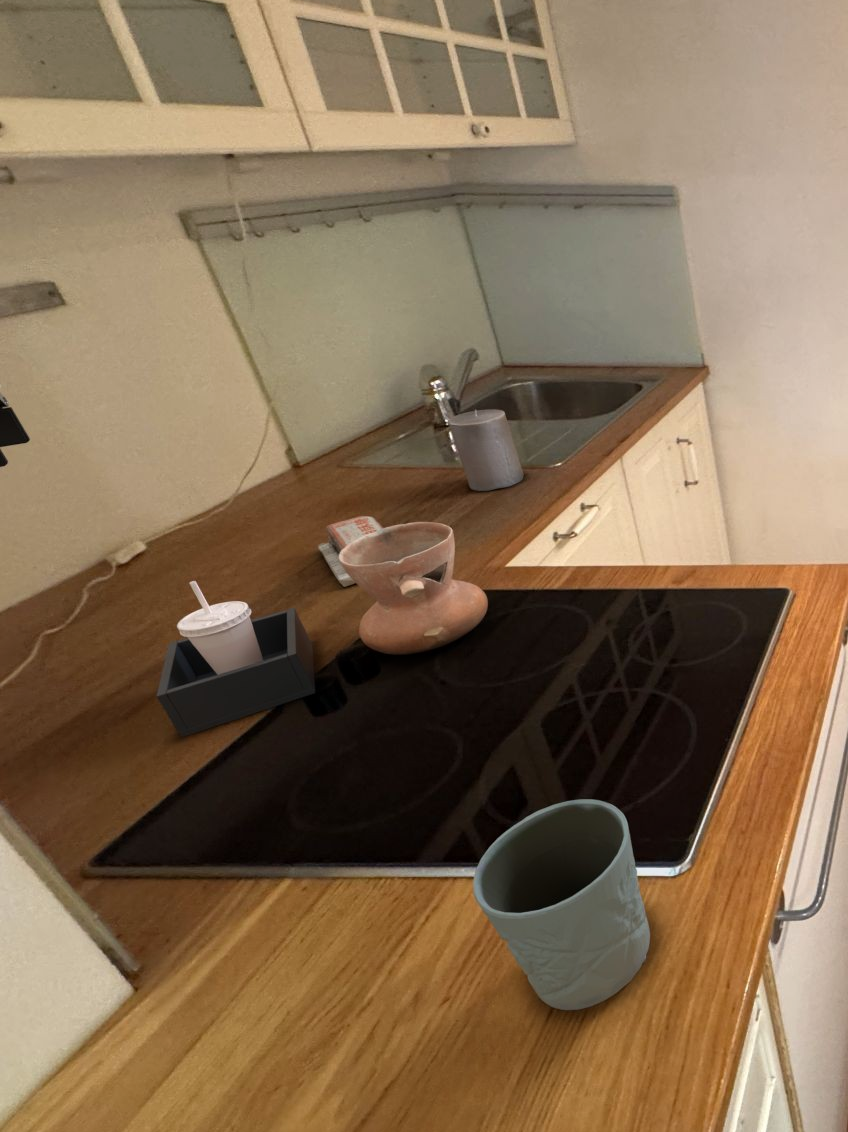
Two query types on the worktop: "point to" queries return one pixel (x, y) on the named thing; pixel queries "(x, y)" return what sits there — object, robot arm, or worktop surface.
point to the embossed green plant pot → (567, 901)
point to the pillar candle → (486, 449)
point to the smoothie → (222, 633)
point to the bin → (238, 677)
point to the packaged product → (345, 542)
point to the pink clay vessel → (412, 588)
